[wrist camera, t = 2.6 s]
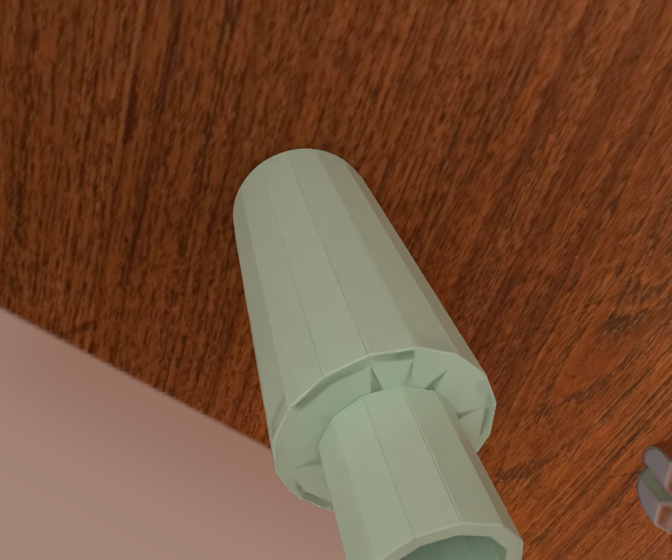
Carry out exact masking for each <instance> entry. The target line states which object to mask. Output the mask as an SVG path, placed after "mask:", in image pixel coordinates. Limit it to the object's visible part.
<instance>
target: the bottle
mask: <svg viewBox="0 0 672 560" xmlns="http://www.w3.org/2000/svg"><path fill="white" fill-rule="evenodd" d="M233 223H234V230H235V239H236V245H237V250H238V256H239V262H240V268H241V274H242V280H243V286H244V292H245V297H246V303H247V309H248V315H249V321H250V327H251V333H252V339H253V345H254V350H255V356H256V362H257V368H258V374H259V380H260V386H261V392H262V397H263V403H264V409H265V415H266V421H267V427H268V433H269V439H270V445H271V450H272V456H273V462H274V468H275V472H276V474H277V475H278V477H279V478H280V479H281V480H282V481H283V483H284V484H285V485H286V486H287V488H288V489H289V490H290V491H291V492H292V494H293V495H294V496H295V497H297V498H299V499H301V500H304V501H306V502H308V503H311V504H313V505H315V506H318V507H320V508H322V509H326V510H334V514H335V518H336V522H337V526H338V530H339V534H340V538H341V542H342V546H343V550H344V554H345V558H346V560H522V552H523V541H522V538H521V536H520V534H519V533H518V531H517V529H516V527H515V525H514V523H513V521H512V519H511V517H510V515H509V514H508V512H507V510H506V508H505V506H504V504H503V502H502V500H501V498H500V496H499V495H498V493H497V491H496V489H495V487H494V485H493V483H492V481H491V479H490V478H489V476H488V474H487V472H486V470H485V468H484V466H483V464H482V462H481V460H480V459H479V457H478V455H477V452H478V451H479V449H480V448H481V447H482V445H483V444H484V442H485V441H486V439H487V438H488V436H489V435H490V432H491V427H492V422H493V418H494V413H495V408H496V400H495V397H494V395H493V392H492V389H491V386H490V384H489V381H488V378H487V376H486V374H485V372H484V371H483V369H482V368H481V366H480V364H479V363H478V361H477V360H476V358H475V356H474V355H473V353H472V352H471V350H470V348H469V347H468V345H467V344H466V342H465V340H464V339H463V337H462V336H461V334H460V333H459V331H458V329H457V328H456V326H455V325H454V323H453V321H452V320H451V318H450V317H449V315H448V313H447V312H446V310H445V309H444V307H443V305H442V304H441V302H440V301H439V299H438V298H437V296H436V294H435V293H434V291H433V290H432V288H431V286H430V285H429V283H428V282H427V280H426V278H425V277H424V275H423V274H422V272H421V271H420V269H419V267H418V266H417V264H416V263H415V261H414V259H413V258H412V256H411V255H410V253H409V251H408V250H407V248H406V247H405V245H404V243H403V242H402V240H401V239H400V237H399V236H398V234H397V232H396V231H395V229H394V228H393V226H392V224H391V223H390V221H389V220H388V218H387V216H386V215H385V213H384V212H383V210H382V208H381V207H380V205H379V204H378V202H377V201H376V199H375V197H374V196H373V194H372V193H371V191H370V189H369V188H368V186H367V185H366V183H365V181H364V180H363V178H362V177H361V176H360V175H359V174H358V173H357V172H356V170H355V169H354V168H353V167H352V166H351V165H350V164H349V163H347V162H346V161H345V160H343V159H342V158H340V157H338V156H336V155H334V154H332V153H329V152H326V151H322V150H318V149H295V150H289V151H286V152H282V153H279V154H277V155H274V156H272V157H270V158H269V159H267V160H265V161H263V162H262V163H261V164H260V165H258V166H257V167H256V168H255V169H254V170H253V171H252V172H251V173H250V174H249V175H248V176H247V177H246V179H245V180H244V181H243V183H242V185H241V186H240V188H239V190H238V193H237V195H236V198H235V202H234V208H233Z"/></svg>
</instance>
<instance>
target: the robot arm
mask: <svg viewBox="0 0 672 560" xmlns="http://www.w3.org/2000/svg"><path fill="white" fill-rule="evenodd" d="M642 460H643V461H644V462H645V464H646V467H645V468H644V469H643V470H642V471H641V472H640V473H639V474H638V477H637V483H636V489H637V493H638V497H639V501H640V503H641V505H642V507H643V509H644V511H645V513H646V514H647V516H648V517H649V518H650V520H651V521H652V523H653V524H654V525H655V526H657V527H659V528H660V529H662V530H664V531H666V532H668V533H670V534H671V548H672V439H670V440H666V441H663V442H660V443H656V444H653V445H650V446H648V447H647V448H646V449H644V452H643V456H642Z"/></svg>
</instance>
